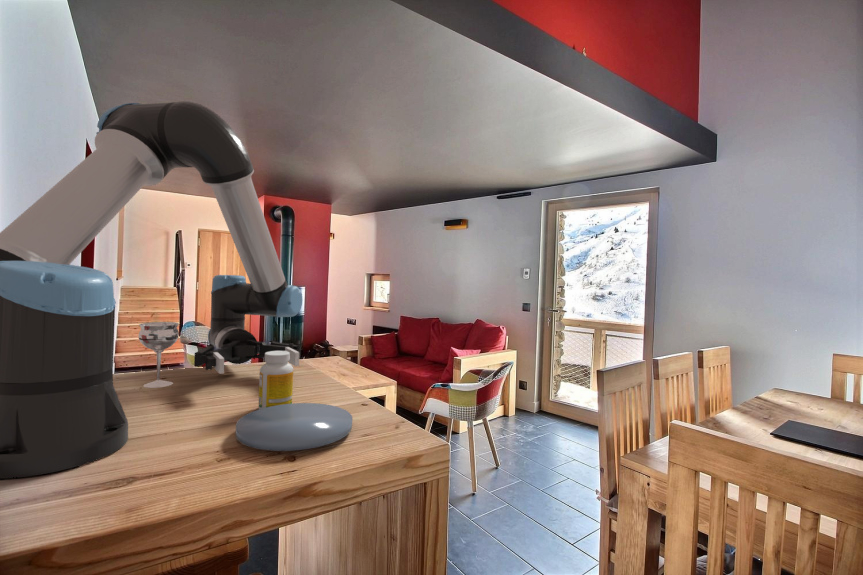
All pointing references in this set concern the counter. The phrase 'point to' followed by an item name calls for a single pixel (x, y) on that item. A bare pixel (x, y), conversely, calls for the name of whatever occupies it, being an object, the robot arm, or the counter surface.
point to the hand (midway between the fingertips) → (261, 362)
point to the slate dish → (293, 426)
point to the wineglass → (158, 343)
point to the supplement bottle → (275, 380)
